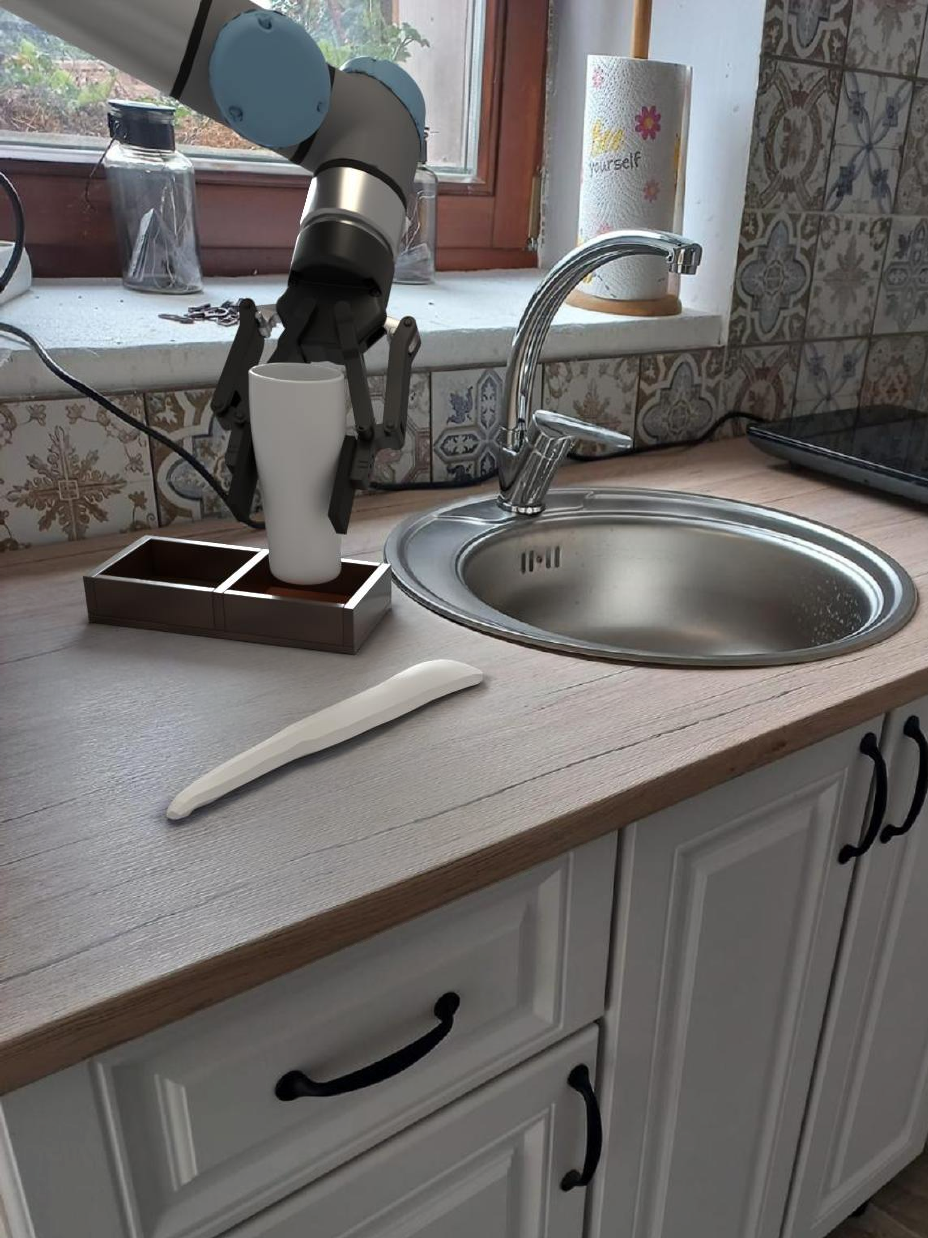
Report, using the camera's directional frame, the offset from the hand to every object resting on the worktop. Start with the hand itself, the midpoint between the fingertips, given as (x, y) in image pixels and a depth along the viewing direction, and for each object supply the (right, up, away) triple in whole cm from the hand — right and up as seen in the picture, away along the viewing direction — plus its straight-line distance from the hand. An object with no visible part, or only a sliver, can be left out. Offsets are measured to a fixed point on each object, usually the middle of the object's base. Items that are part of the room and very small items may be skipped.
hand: (287, 518), depth 89 cm
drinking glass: (0, -3, +6) cm, 7 cm away
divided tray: (-5, -6, +8) cm, 11 cm away
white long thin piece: (+5, -17, -9) cm, 20 cm away
